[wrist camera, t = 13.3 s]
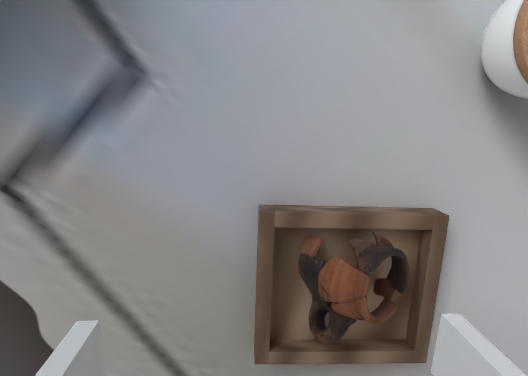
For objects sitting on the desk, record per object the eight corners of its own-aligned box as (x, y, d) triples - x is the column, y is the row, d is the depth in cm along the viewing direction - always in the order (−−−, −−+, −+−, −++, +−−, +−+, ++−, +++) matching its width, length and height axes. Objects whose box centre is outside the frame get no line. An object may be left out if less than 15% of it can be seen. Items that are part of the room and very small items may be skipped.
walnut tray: (254, 346, 38) (254, 364, 35) (258, 204, 34) (259, 212, 31) (413, 345, 39) (425, 362, 36) (433, 208, 35) (449, 215, 32)
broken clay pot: (313, 206, 34) (379, 226, 27) (362, 233, 39) (428, 256, 33) (266, 314, 33) (323, 363, 26) (324, 326, 38) (383, 370, 32)
